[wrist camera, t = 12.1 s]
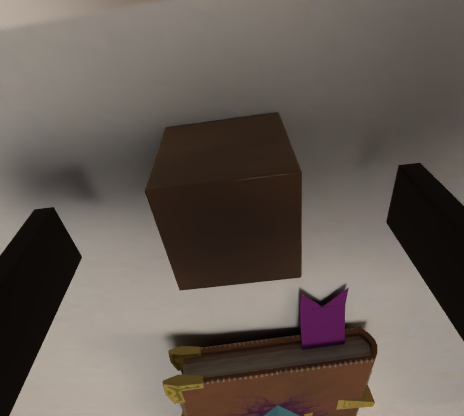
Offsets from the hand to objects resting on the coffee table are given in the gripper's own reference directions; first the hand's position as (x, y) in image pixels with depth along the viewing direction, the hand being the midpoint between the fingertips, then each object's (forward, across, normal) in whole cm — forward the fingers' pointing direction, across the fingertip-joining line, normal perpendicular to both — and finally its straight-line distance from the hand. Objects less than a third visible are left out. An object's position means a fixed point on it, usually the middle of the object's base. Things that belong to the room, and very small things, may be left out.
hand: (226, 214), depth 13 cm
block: (+4, 0, 0) cm, 4 cm away
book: (+4, 0, -22) cm, 22 cm away
